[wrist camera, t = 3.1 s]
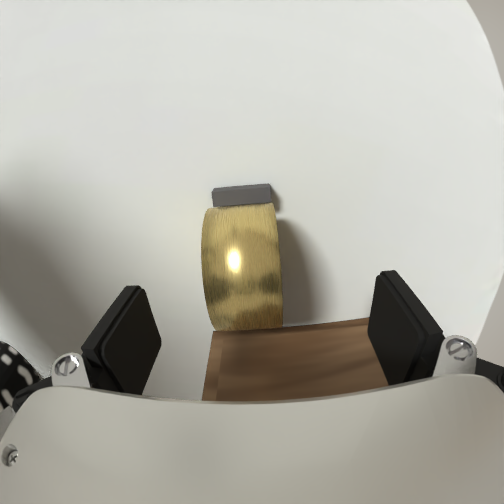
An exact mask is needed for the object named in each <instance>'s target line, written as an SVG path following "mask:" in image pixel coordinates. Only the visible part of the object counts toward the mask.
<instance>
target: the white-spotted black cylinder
mask: <svg viewBox="0 0 504 504" xmlns="http://www.w3.org/2000/svg"><path fill="white" fill-rule="evenodd" d="M39 381H40V379H39V377H38V375H37V374H36V372H35V371H34V369H33V368H32V367H31V365H30V364H29V363H28V362H27V361H26V360H25V359H24V357H23V356H21V355H20V354H19V353H18V352H17V351H16V350H15V349H14V348H12V347H11V346H10V345H8V344H6V343H4V342H1V341H0V412H2V411H3V410H4V409H5V408H7V407H8V406H10V407H11V408H13V407H12V402H13V399H14V397H15V395H16V393H17V392H18V391H20V390H22V389H24V388H26V387H28V386H30V385H32V384H35V383H37V382H39Z"/></svg>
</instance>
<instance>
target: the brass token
mask: <svg viewBox="0 0 504 504" xmlns="http://www.w3.org/2000/svg"><path fill="white" fill-rule="evenodd" d="M201 260H202V277H203V286H204V293H205V299H206V305H207V309H208V313H209V317H210V320H211V323H212V325H213V327H214V329H215V330H216V331H233V330H252V329H267V328H280V327H282V323H283V299H282V278H281V263H280V251H279V240H278V231H277V223H276V216H275V210H274V205H273V203H264V204H251V205H239V206H228V207H217V208H209V209H208V210H207V211H206V213H205V216H204V221H203V228H202V241H201Z"/></svg>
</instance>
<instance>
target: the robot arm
mask: <svg viewBox="0 0 504 504" xmlns="http://www.w3.org/2000/svg"><path fill="white" fill-rule="evenodd" d="M367 333H368V337H369V339H370V342H371V344H372V346H373V349H374V351H375V353H376V356H377V358H378V360H379V363H380V365H381V368H382V370H383V372H384V375H385V377H386V380H387V382H388V385H389V386H386V387H381V388H376V389H370V390H364V391H359V392H353V393H346V394H339V395H331V396H323V397H314V398H303V399H291V400H275V401H199V400H183V399H170V398H160V397H151V396H143V395H142V392H143V390H144V387H145V385H146V382H147V380H148V377H149V375H150V372H151V370H152V367H153V365H154V362H155V360H156V357H157V355H158V352H159V350H160V347H161V337H160V335H159V332H158V329H157V326H156V323H155V320H154V317H153V314H152V311H151V308H150V305H149V302H148V298H147V295H146V292H145V290H144V289H141V287H140V286H126V287H125V288H124V289H123V291H122V292H121V293H120V294H119V296H118V297H117V298H116V300H115V301H114V302H113V304H112V305H111V306H110V308H109V309H108V310H107V312H106V313H105V315H104V316H103V317H102V319H101V320H100V321H99V323H98V324H97V326H96V327H95V328H94V330H93V331H92V333H91V334H90V335H89V337H88V338H87V340H86V341H85V343H84V344H83V346H82V347H81V349H82V351H83V354H82V355H79V354H78V353H67V354H64V355H62V356H60V357H59V358H58V359H56V360H55V362H54V363H53V365H52V367H51V376H50V377H48V378H46V379H44V380H41V381H39V382H37V383H35V384H32V385H30V386H28V387H26V388H24V389H22V390H20V391H18V392H17V393H16V395H15V397H14V399H13V402H12V407H13V408H11V407H10V406H8V407H7V408H5V409H4V410H3V411H2V412H0V504H504V367H502V366H499V365H496V364H493V363H490V362H488V361H485V360H482V359H479V358H477V349H476V347H475V345H474V344H473V343H472V341H470V340H469V339H467V338H465V337H463V336H459V335H452V336H449V337H447V338H445V337H444V335H443V334H442V333H443V331H442V329H441V328H440V327H439V325H438V324H437V323H436V321H435V320H434V318H433V317H432V316H431V314H430V313H429V312H428V310H427V309H426V308H425V307H424V305H423V304H422V303H421V301H420V300H419V299H418V298H417V296H416V295H415V294H414V292H413V291H412V290H411V289H410V288H409V286H408V285H407V284H406V283H405V281H404V280H403V279H402V278H401V277H400V275H399V274H398V273H397V272H396V271H395V270H391V271H382V272H381V273H380V275H378V276H377V277H376V282H375V289H374V295H373V301H372V307H371V312H370V318H369V323H368V328H367Z"/></svg>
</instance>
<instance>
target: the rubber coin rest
mask: <svg viewBox="0 0 504 504" xmlns="http://www.w3.org/2000/svg"><path fill="white" fill-rule="evenodd" d="M212 199H213V207H219V206H230V205H242V204H254V203H268V202H271V190H270V185H269V184H257V185H244V186H233V187H223V188H214V189H213V191H212Z"/></svg>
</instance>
